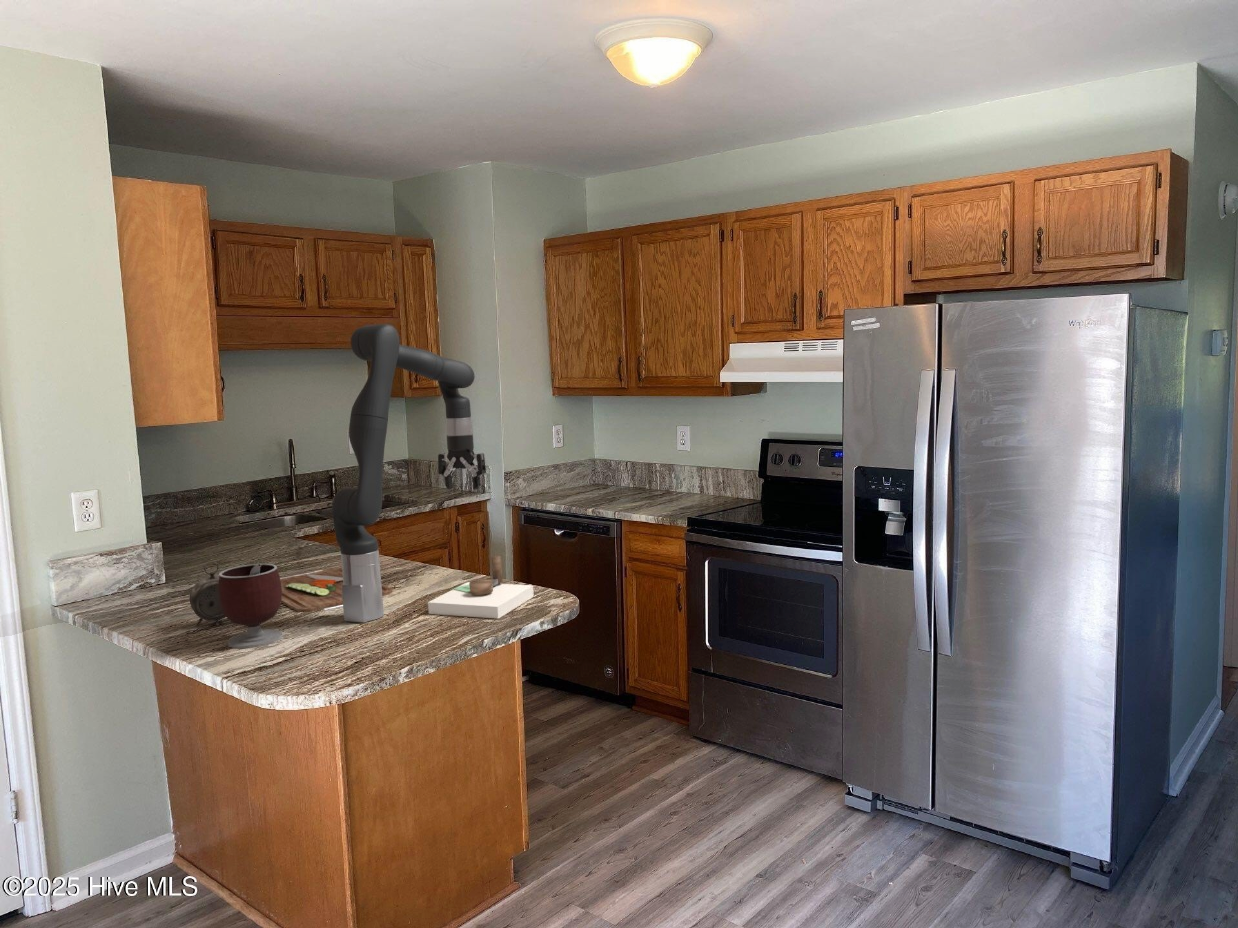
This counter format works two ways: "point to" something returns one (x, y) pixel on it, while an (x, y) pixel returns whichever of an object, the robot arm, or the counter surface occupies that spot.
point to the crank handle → (487, 585)
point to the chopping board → (316, 590)
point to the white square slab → (481, 601)
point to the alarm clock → (207, 599)
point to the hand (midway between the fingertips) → (463, 489)
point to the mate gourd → (251, 602)
